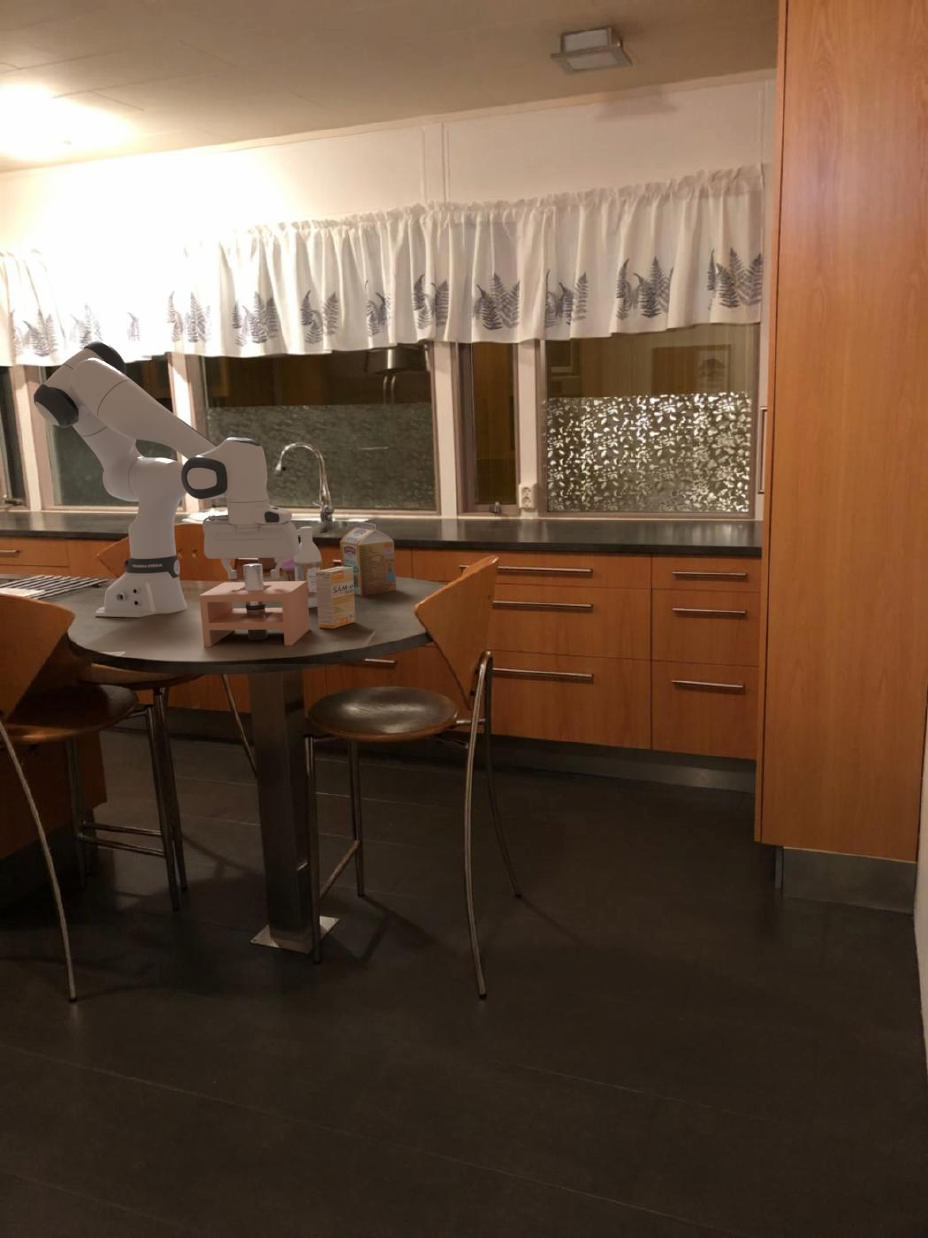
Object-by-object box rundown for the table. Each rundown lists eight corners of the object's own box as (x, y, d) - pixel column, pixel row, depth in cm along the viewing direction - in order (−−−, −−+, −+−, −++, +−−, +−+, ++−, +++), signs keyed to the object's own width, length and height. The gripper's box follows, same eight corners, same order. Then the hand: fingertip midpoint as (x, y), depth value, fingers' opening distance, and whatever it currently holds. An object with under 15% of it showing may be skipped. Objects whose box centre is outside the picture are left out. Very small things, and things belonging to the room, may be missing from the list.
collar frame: (203, 646, 208) (199, 595, 206) (228, 630, 224) (224, 582, 222) (291, 645, 207) (288, 593, 204) (309, 628, 222) (306, 580, 220)
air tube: (245, 639, 213) (240, 566, 210) (251, 635, 217) (246, 563, 214) (264, 639, 213) (259, 566, 210) (269, 635, 217) (264, 563, 214)
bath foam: (304, 609, 245) (298, 529, 241) (292, 605, 251) (287, 527, 247) (329, 605, 249) (324, 527, 245) (317, 602, 255) (312, 524, 251)
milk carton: (396, 593, 264) (392, 522, 260) (361, 598, 258) (357, 526, 255) (376, 588, 273) (373, 519, 269) (342, 592, 267) (338, 523, 263)
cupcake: (276, 587, 279) (273, 552, 277) (286, 582, 287) (284, 548, 285) (306, 587, 277) (304, 552, 275) (315, 582, 286) (313, 548, 284)
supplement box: (334, 629, 221) (330, 571, 218) (317, 627, 223) (314, 570, 221) (357, 622, 228) (353, 566, 225) (340, 620, 230) (337, 565, 228)
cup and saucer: (274, 570, 312) (273, 551, 311) (298, 573, 304) (297, 553, 303) (243, 575, 303) (242, 555, 302) (267, 579, 296) (266, 558, 294)
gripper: (196, 517, 208) (202, 581, 210) (291, 514, 206) (295, 580, 209) (206, 513, 214) (212, 576, 217) (299, 511, 212) (303, 575, 215)
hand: (253, 578), depth 213 cm, fingers open, 8 cm apart
